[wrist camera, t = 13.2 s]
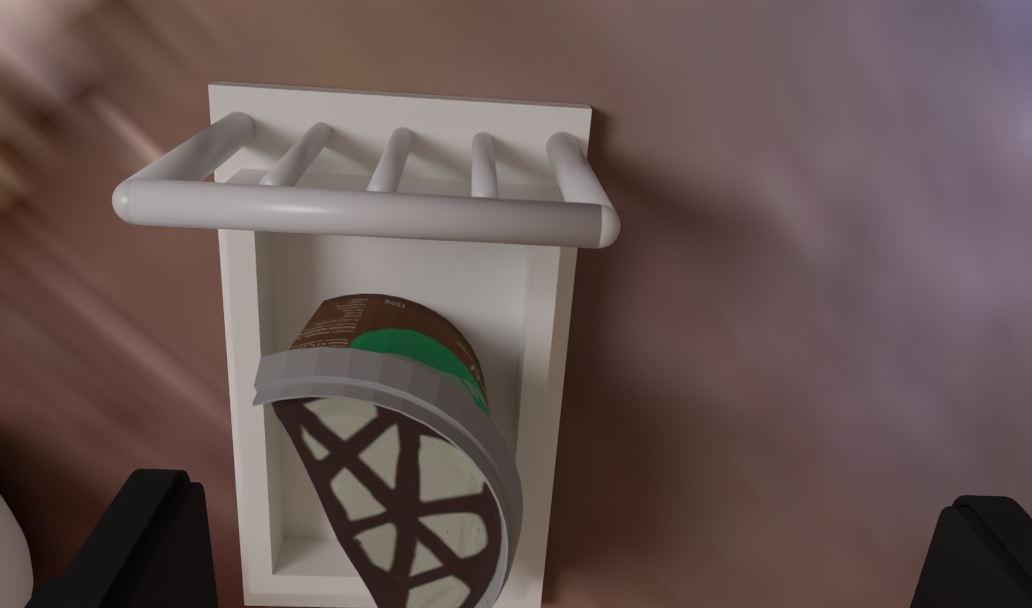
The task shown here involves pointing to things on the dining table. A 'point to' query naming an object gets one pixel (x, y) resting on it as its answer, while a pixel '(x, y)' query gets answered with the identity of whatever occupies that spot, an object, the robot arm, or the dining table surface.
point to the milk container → (14, 560)
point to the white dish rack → (384, 277)
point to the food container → (400, 450)
